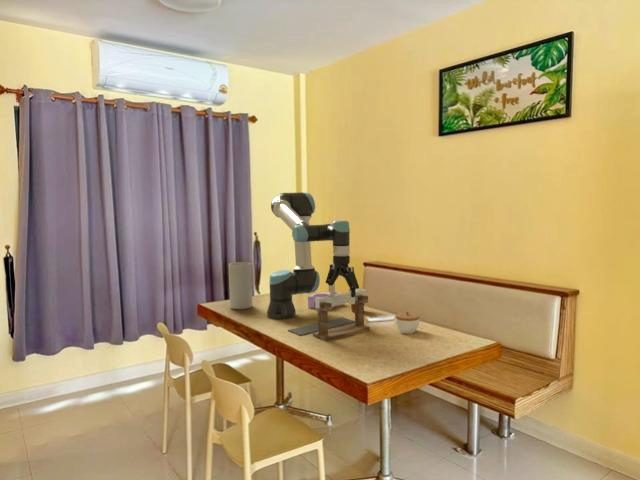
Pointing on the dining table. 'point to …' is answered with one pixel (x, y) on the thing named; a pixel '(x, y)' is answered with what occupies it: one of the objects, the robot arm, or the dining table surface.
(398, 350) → the dining table surface
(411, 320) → the lidded jar
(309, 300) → the lilac boxy piece
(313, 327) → the rubber mat
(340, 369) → the dining table surface
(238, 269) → the cylinder vase
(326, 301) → the steel rail
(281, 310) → the robot arm
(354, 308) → the disposable coffee cup
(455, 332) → the dining table surface
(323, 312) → the hook rack
